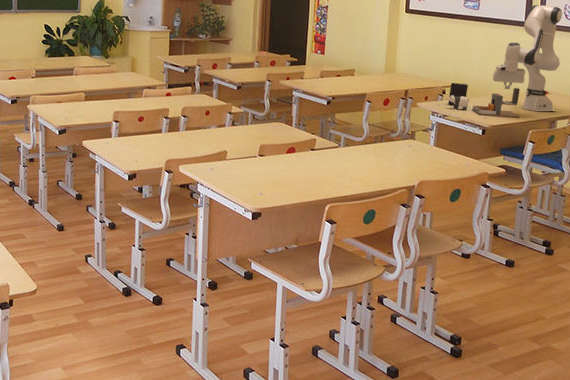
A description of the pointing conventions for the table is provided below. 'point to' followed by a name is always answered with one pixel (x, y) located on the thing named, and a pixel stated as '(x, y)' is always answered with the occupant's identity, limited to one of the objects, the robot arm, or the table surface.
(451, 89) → the calculator
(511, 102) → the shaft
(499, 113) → the dark grey stand
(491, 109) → the collar
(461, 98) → the giant panda
